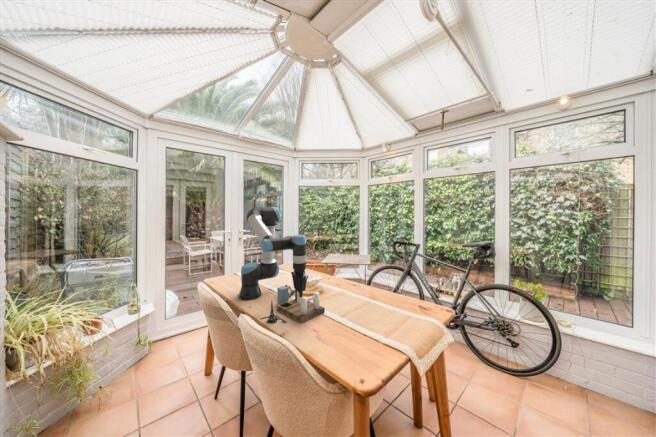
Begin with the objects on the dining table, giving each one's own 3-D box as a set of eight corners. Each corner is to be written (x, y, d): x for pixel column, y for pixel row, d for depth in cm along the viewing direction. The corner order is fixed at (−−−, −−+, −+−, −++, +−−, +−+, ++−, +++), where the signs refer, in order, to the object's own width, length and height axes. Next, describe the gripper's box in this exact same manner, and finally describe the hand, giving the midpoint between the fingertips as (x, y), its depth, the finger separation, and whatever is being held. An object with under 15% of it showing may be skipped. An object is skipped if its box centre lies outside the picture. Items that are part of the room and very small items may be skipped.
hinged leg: (316, 306, 146) (316, 291, 146) (320, 307, 144) (320, 293, 143) (299, 313, 136) (299, 298, 136) (303, 315, 134) (303, 299, 133)
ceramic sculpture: (276, 287, 164) (282, 281, 179) (275, 299, 164) (282, 293, 179) (291, 288, 163) (296, 282, 178) (291, 300, 163) (296, 293, 178)
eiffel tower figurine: (288, 323, 133) (287, 299, 132) (272, 329, 126) (271, 305, 125) (274, 314, 144) (273, 292, 143) (258, 320, 137) (258, 297, 136)
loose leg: (277, 304, 158) (277, 287, 157) (284, 301, 161) (283, 285, 161) (282, 306, 154) (281, 289, 154) (288, 304, 158) (288, 287, 157)
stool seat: (277, 310, 149) (276, 291, 148) (299, 301, 161) (299, 284, 161) (301, 323, 132) (301, 302, 131) (324, 312, 145) (324, 293, 144)
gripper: (311, 262, 135) (311, 303, 137) (297, 258, 144) (297, 296, 146) (301, 265, 130) (301, 307, 132) (287, 261, 139) (287, 300, 141)
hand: (299, 301), depth 139 cm, fingers closed
